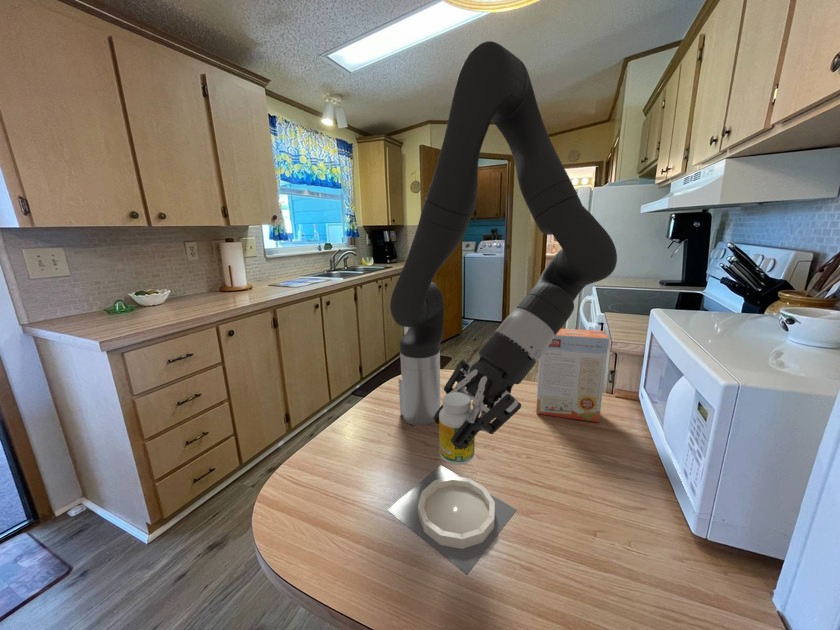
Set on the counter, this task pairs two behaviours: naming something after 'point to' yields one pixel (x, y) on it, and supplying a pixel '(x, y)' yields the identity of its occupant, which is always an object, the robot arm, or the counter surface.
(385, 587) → the counter surface
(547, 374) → the cracker box
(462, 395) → the supplement bottle
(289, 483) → the counter surface
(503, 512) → the slate board
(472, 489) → the bowl
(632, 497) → the counter surface
